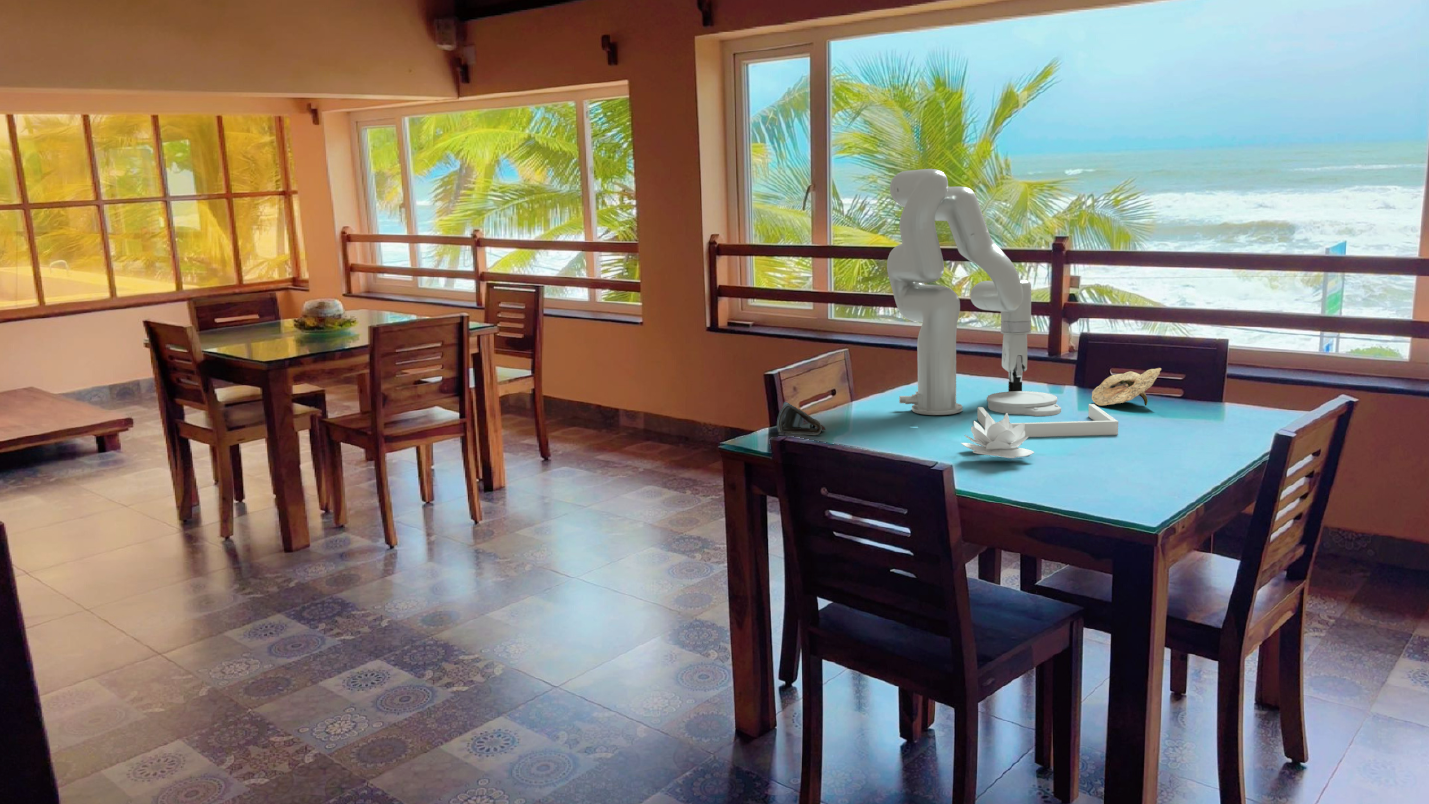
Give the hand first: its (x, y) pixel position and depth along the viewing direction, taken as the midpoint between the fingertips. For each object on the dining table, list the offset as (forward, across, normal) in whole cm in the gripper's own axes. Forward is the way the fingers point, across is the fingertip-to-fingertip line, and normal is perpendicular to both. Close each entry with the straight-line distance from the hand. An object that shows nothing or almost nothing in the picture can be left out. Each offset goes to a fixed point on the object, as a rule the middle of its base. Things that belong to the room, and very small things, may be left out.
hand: (1015, 396), depth 279 cm
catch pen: (+1, +34, 0) cm, 34 cm away
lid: (+1, +13, 0) cm, 13 cm away
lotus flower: (+1, +58, -16) cm, 61 cm away
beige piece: (+2, +11, +27) cm, 29 cm away
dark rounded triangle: (+3, +36, -53) cm, 64 cm away
